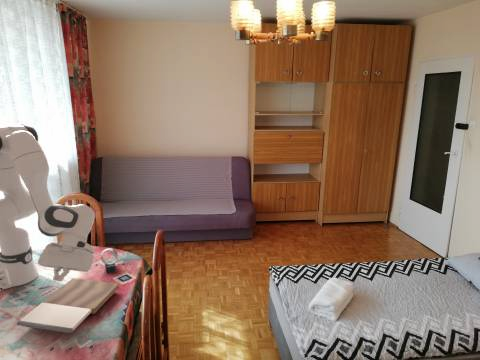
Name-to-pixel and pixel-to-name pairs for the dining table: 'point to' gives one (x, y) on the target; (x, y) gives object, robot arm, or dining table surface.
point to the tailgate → (55, 317)
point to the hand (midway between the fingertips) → (57, 280)
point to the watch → (110, 264)
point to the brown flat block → (83, 294)
